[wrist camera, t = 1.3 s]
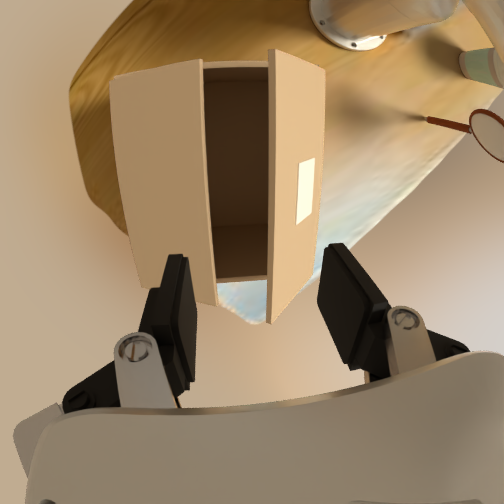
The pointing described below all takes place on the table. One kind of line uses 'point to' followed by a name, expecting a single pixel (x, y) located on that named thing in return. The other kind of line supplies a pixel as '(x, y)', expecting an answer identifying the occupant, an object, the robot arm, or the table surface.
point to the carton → (237, 166)
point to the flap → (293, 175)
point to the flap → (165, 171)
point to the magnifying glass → (480, 130)
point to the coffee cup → (483, 66)
